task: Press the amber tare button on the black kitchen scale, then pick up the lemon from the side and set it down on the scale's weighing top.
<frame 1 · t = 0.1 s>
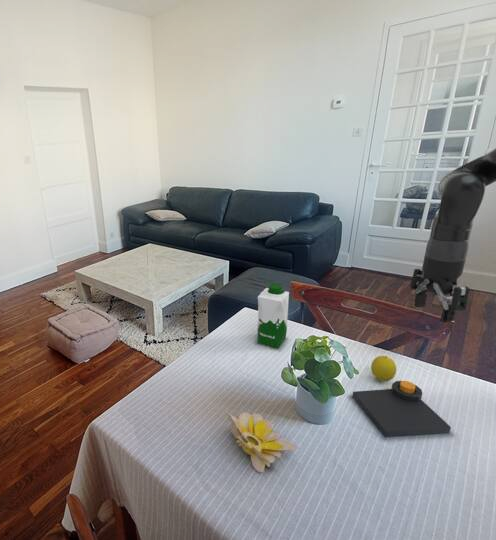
hand: (431, 313, 88), 19 cm above the table, tool pointing down, fingers open, 8 cm apart
scale: (396, 414, 82), on the table
lemon: (381, 381, 93), on the table
tare button: (407, 387, 85), point 4 cm above the table, slide at 0.1 cm
decorative flower: (258, 451, 77), on the table
milk carton: (271, 341, 116), on the table
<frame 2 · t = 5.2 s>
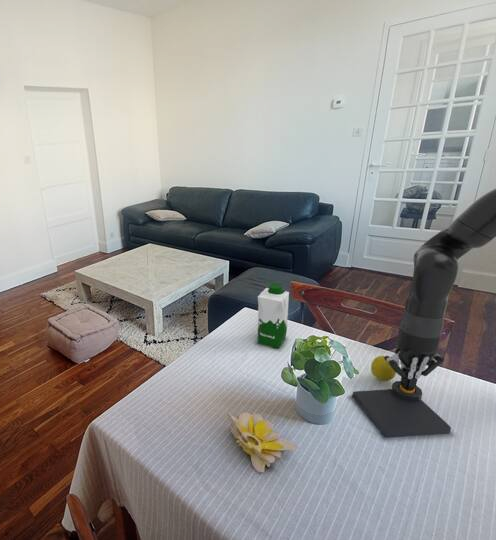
hand: (407, 388, 85), 4 cm above the table, tool pointing down, fingers closed
tare button: (406, 390, 85), point 3 cm above the table, slide at -0.8 cm, touching gripper
everything else where it was.
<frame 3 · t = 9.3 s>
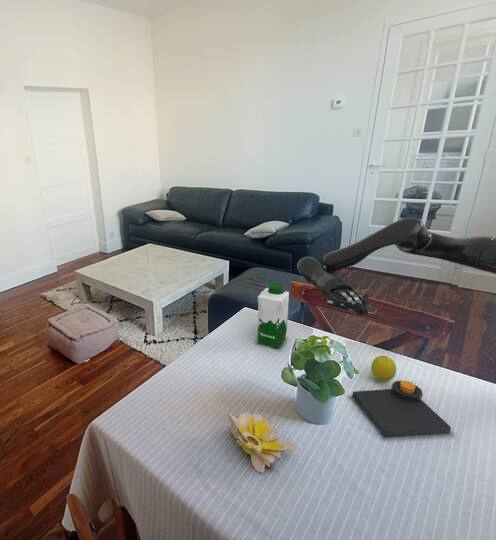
hand: (365, 312, 97), 16 cm above the table, tool horizontal, fingers closed
tare button: (407, 387, 85), point 4 cm above the table, slide at 0.1 cm
everything else where it was.
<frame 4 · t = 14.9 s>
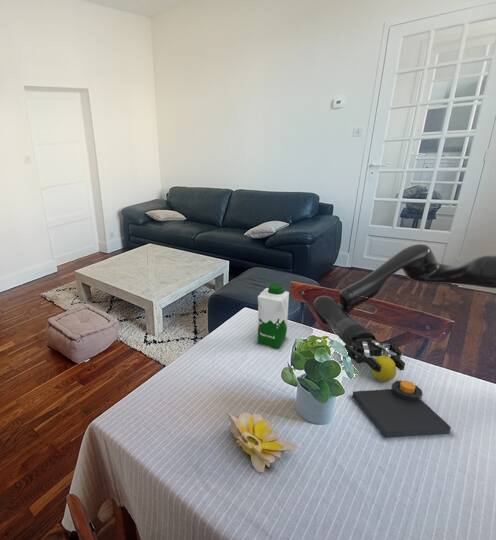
hand: (391, 368, 89), 6 cm above the table, tool horizontal, fingers closed on lemon, 5 cm apart
lemon: (381, 381, 93), on the table, touching gripper
everything else where it was.
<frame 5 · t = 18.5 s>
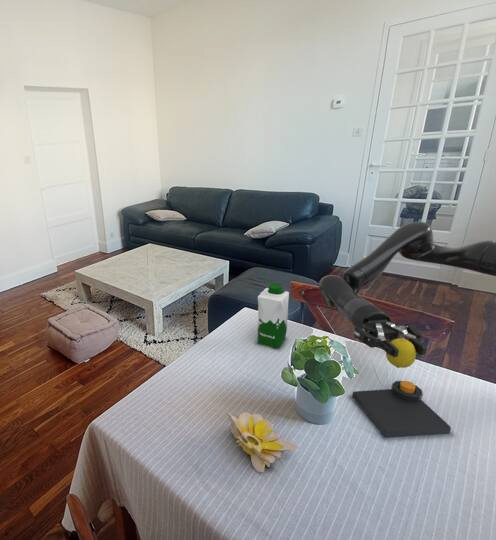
hand: (410, 352, 76), 18 cm above the table, tool horizontal, fingers closed on lemon, 5 cm apart
lemon: (397, 368, 81), point 11 cm above the table, touching gripper
everything else where it was.
when the fingers open (8 cm above the table, at t = 22.4 s): lemon stays where it is, resting on scale.
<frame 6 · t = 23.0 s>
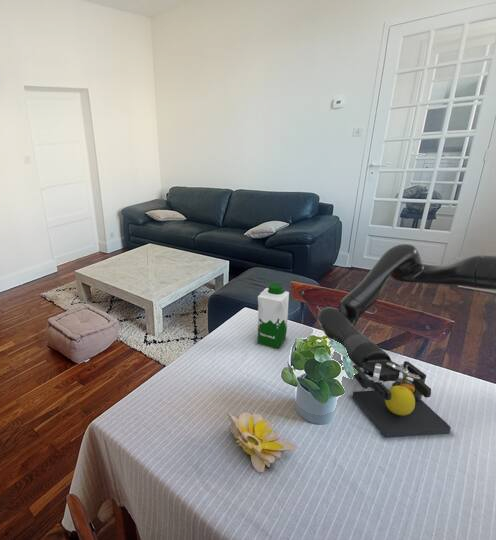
hand: (409, 395, 75), 9 cm above the table, tool horizontal, fingers open, 8 cm apart
lemon: (396, 414, 80), point 2 cm above the table, touching scale
everything else where it was.
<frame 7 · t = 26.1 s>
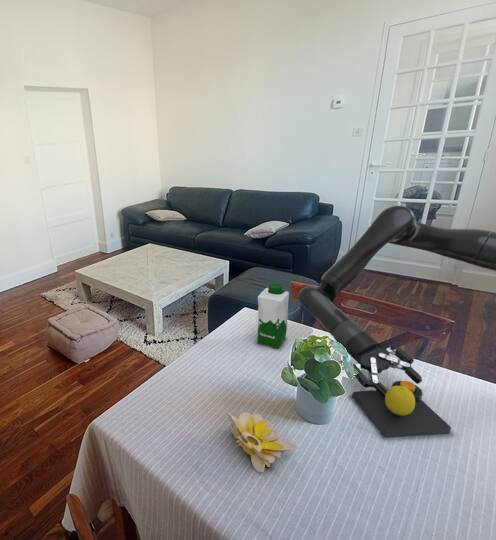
hand: (405, 389, 84), 4 cm above the table, tool tilted 70°, fingers open, 8 cm apart
nothing on the table moved.
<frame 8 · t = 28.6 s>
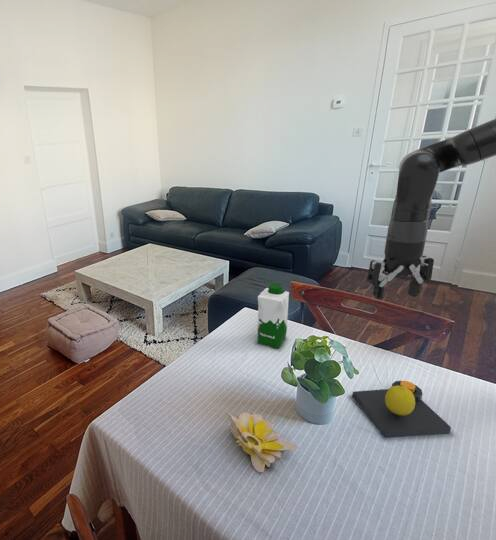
hand: (395, 296, 88), 24 cm above the table, tool pointing down, fingers open, 8 cm apart
nothing on the table moved.
at the end: tare button pushed in 0.9 cm at the most during the clip, back to where it started at the end; lemon inside the target area on the scale (1.5 cm from its centre), point 1.7 cm above the scale's base; lemon touching scale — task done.
